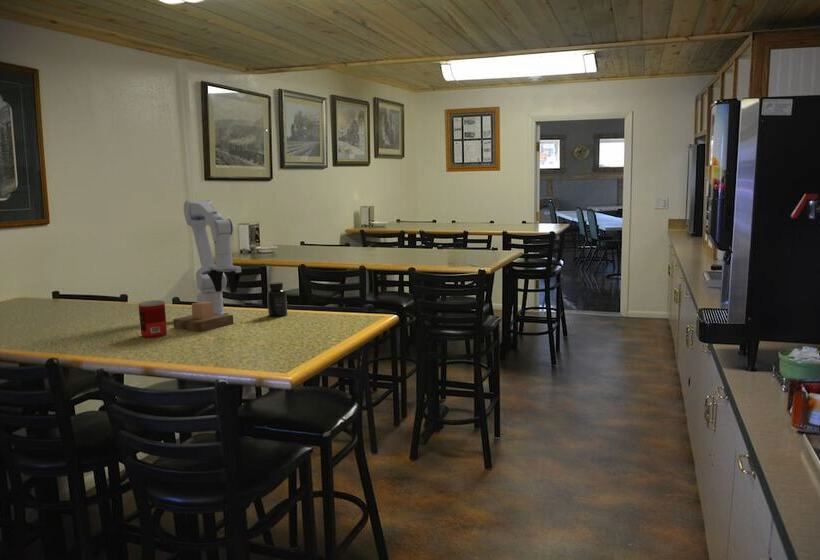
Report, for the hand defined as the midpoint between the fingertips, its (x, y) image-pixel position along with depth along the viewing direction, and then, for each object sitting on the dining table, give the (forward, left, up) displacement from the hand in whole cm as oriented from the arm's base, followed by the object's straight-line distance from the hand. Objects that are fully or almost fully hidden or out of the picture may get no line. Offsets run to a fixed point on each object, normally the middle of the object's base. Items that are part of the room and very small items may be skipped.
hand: (226, 291), depth 239 cm
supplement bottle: (+10, +15, -11) cm, 21 cm away
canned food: (-4, -28, -11) cm, 30 cm away
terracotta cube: (-1, -10, -7) cm, 12 cm away
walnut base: (-1, -10, -10) cm, 14 cm away
